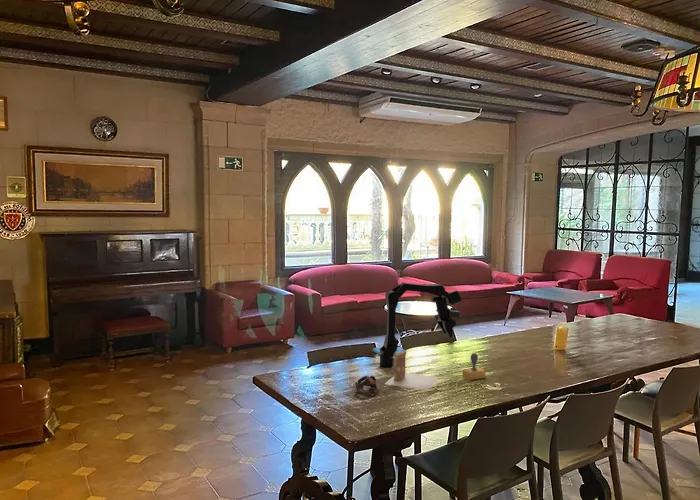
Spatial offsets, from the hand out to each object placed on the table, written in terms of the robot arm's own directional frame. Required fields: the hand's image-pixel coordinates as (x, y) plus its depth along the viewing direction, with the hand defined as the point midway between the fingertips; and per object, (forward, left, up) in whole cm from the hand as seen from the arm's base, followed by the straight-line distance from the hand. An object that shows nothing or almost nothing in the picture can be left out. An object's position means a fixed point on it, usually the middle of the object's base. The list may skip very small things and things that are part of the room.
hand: (448, 335), depth 279 cm
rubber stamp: (+17, -17, -16) cm, 28 cm away
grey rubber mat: (-8, -36, -15) cm, 40 cm away
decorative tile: (-36, +7, -16) cm, 40 cm away
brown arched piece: (-23, -57, -16) cm, 63 cm away
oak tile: (-15, -36, -15) cm, 41 cm away
